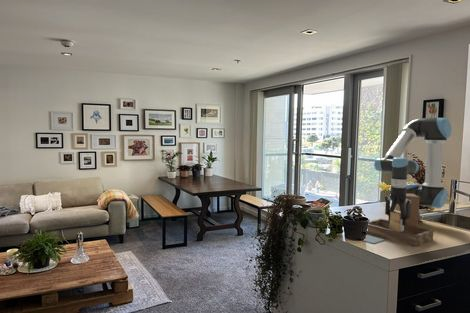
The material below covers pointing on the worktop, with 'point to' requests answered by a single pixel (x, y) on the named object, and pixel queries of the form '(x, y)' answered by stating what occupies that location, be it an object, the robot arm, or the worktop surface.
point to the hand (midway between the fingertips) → (396, 229)
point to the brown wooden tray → (400, 233)
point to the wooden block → (411, 209)
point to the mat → (373, 239)
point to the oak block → (395, 220)
